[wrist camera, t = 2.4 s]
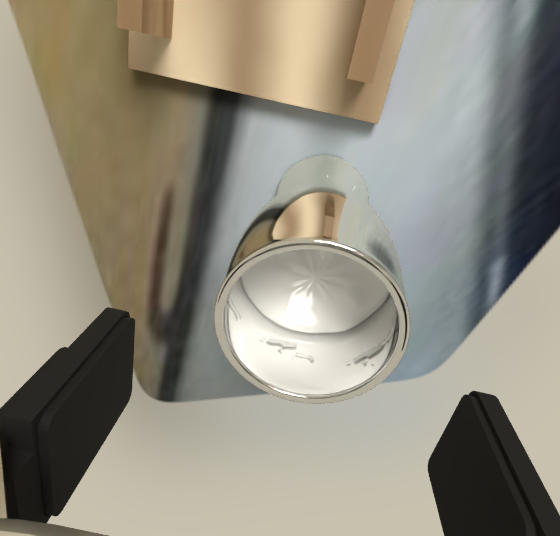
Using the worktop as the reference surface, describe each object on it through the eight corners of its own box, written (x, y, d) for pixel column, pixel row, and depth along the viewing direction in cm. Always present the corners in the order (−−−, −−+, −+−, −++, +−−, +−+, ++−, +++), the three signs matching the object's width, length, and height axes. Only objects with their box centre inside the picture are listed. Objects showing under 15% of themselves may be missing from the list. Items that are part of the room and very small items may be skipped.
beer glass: (370, 251, 28) (402, 417, 15) (270, 247, 29) (215, 400, 15) (381, 148, 25) (434, 238, 12) (269, 146, 26) (198, 228, 12)
